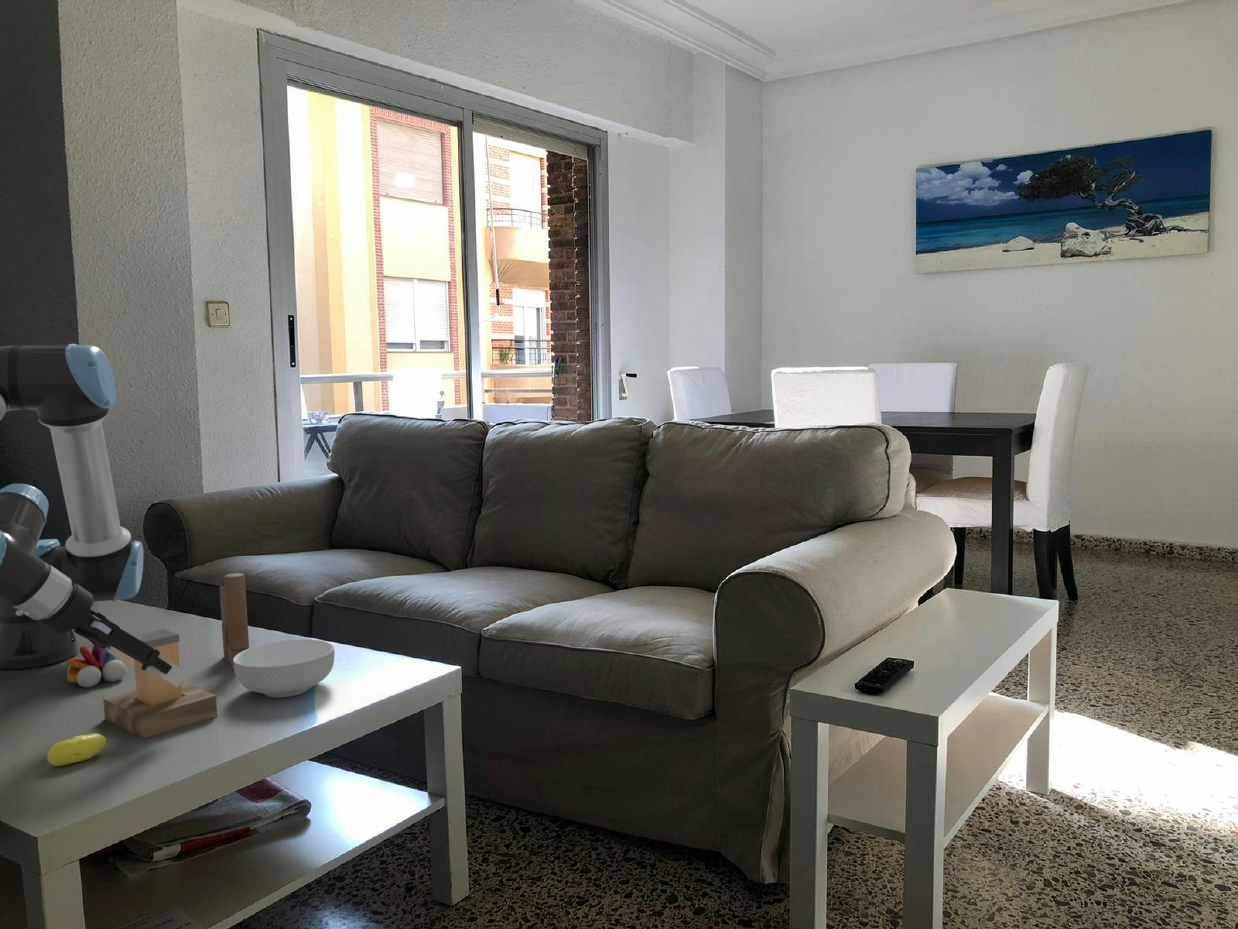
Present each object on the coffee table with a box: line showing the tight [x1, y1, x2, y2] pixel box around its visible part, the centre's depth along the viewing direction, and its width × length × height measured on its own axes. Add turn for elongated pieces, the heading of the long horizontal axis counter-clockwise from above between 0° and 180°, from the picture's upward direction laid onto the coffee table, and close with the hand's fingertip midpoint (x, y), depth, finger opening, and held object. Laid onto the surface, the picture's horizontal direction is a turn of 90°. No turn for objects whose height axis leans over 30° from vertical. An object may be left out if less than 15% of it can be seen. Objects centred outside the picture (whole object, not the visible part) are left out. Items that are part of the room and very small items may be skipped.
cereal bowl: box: [233, 638, 335, 699], centre depth 171 cm, size 17×17×7 cm
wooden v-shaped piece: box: [218, 572, 250, 671], centre depth 187 cm, size 4×11×18 cm, turn 31°
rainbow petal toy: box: [66, 644, 127, 689], centre depth 178 cm, size 8×10×7 cm
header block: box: [102, 681, 218, 740], centre depth 159 cm, size 14×12×4 cm
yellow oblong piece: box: [46, 732, 107, 767], centre depth 142 cm, size 4×8×4 cm, turn 134°
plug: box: [133, 628, 182, 706], centre depth 158 cm, size 5×5×14 cm
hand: (161, 671), depth 158 cm, fingers open, 13 cm apart
